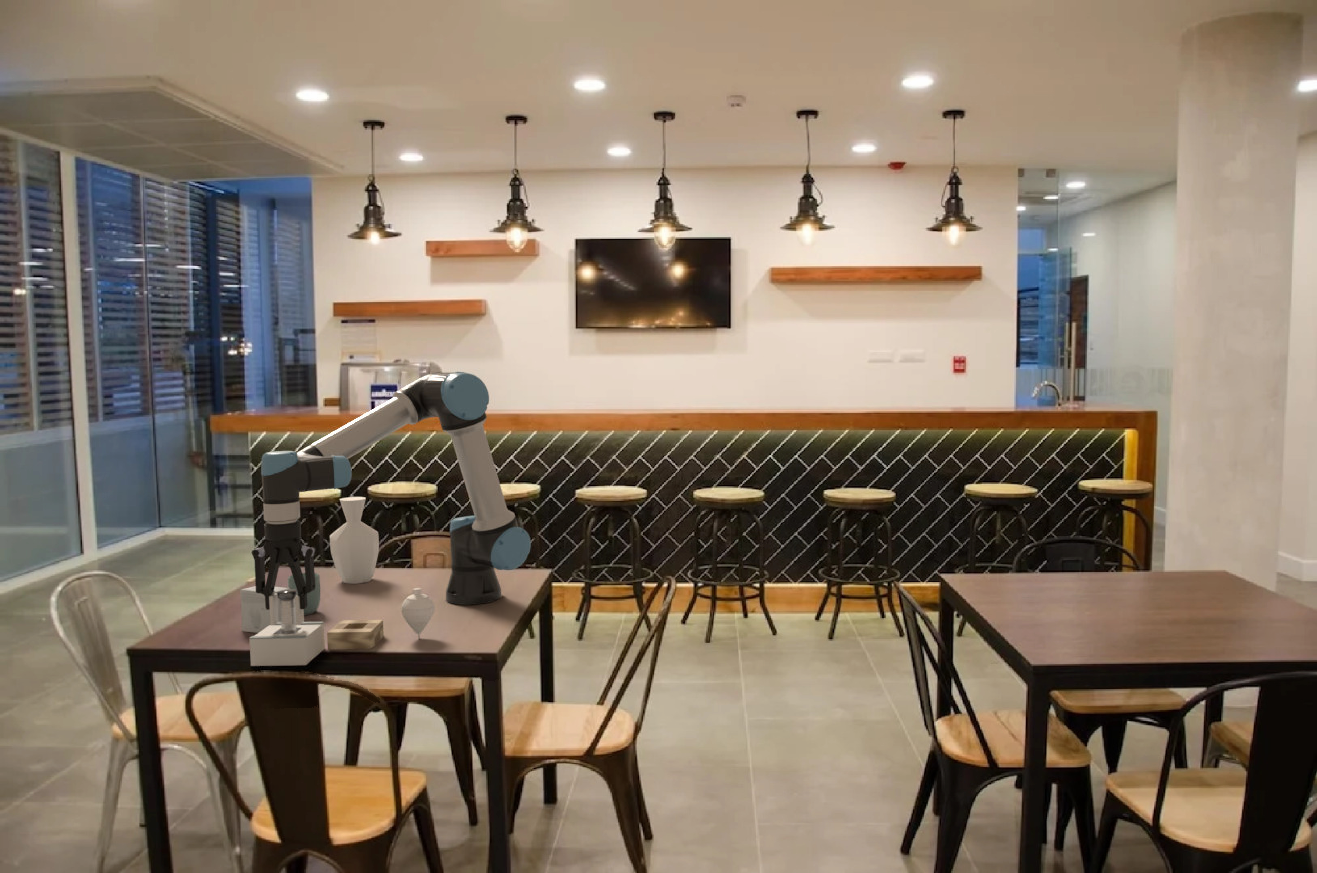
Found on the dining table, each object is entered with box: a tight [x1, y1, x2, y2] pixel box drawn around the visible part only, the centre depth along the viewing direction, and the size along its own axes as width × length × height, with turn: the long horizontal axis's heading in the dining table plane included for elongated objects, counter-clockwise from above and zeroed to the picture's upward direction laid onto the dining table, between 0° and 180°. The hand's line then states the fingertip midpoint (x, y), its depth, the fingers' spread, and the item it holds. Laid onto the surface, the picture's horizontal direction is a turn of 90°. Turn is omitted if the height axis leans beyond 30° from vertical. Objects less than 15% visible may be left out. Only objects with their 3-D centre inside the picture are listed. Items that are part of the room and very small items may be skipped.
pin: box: [277, 589, 297, 634], centre depth 211 cm, size 4×4×15 cm
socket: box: [249, 621, 326, 667], centre depth 212 cm, size 12×12×6 cm
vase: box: [329, 496, 380, 585], centre depth 284 cm, size 14×14×25 cm
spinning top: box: [400, 587, 435, 639], centre depth 225 cm, size 8×8×12 cm
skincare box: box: [239, 585, 290, 634], centre depth 233 cm, size 10×6×10 cm, turn 66°
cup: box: [287, 572, 321, 616], centre depth 248 cm, size 8×8×10 cm
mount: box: [326, 619, 385, 650], centre depth 222 cm, size 10×10×4 cm
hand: (287, 623), depth 211 cm, fingers open, 5 cm apart
